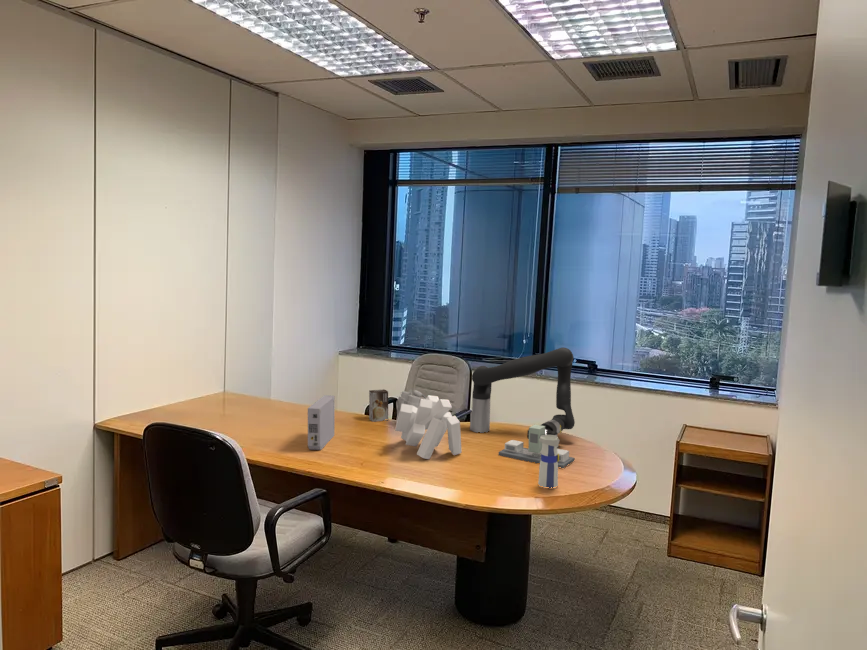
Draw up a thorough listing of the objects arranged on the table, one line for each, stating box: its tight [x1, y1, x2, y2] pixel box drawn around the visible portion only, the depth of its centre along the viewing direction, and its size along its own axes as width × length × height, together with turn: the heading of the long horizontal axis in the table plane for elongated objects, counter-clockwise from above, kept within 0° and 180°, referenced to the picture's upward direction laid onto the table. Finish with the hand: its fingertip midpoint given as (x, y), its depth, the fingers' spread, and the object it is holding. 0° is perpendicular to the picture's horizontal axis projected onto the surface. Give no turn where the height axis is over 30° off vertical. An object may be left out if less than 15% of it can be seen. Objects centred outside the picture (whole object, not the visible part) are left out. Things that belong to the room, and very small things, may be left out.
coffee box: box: [368, 388, 389, 423], centre depth 342 cm, size 9×6×16 cm
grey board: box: [497, 447, 576, 469], centre depth 282 cm, size 31×13×2 cm, turn 56°
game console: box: [307, 394, 335, 451], centre depth 299 cm, size 6×27×20 cm, turn 174°
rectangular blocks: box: [504, 439, 570, 462], centre depth 282 cm, size 28×7×3 cm, turn 56°
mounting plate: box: [503, 447, 570, 463], centre depth 282 cm, size 29×7×1 cm, turn 56°
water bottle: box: [537, 425, 562, 488], centre depth 248 cm, size 8×9×25 cm
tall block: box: [528, 424, 545, 454], centre depth 281 cm, size 5×6×11 cm
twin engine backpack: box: [395, 389, 427, 420], centre depth 332 cm, size 18×19×20 cm
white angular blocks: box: [394, 394, 463, 460], centre depth 287 cm, size 35×30×35 cm
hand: (534, 437), depth 279 cm, fingers closed on tall block, 5 cm apart
